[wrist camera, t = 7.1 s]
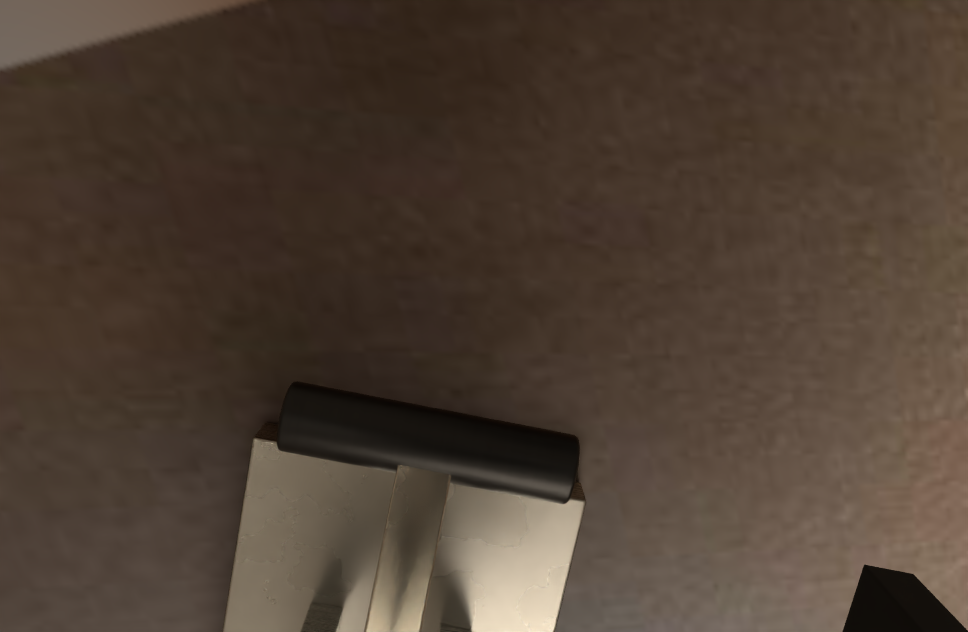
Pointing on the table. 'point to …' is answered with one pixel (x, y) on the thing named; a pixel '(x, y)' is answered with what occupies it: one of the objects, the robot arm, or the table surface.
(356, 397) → the lever
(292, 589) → the lever base
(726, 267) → the table surface
